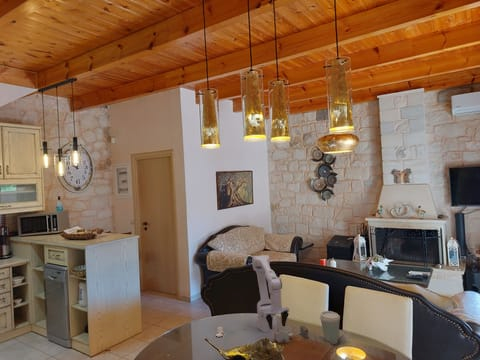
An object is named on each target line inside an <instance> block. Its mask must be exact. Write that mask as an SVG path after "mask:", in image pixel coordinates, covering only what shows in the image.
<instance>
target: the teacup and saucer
mask: <svg viewBox="0 0 480 360" xmlns="http://www.w3.org/2000/svg"><path fill="white" fill-rule="evenodd" d="M223 329H224V328H223V326H218V327H217V332H218V333H216V336H217V338H221V336H223V333H224V332H223V331H224V330H223ZM216 336H215V337H216Z"/></svg>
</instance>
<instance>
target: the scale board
mask: <svg viewBox="0 0 480 360" xmlns="http://www.w3.org/2000/svg"><path fill="white" fill-rule="evenodd" d="M299 330H300V331H299V332H300V333H298V334H293V336H290V337H295V336H301V337H302V338H298V339H292V340H290V339H289V341H286V342H279V343H278V344H285V343H289V342H295V341H296V342H297V341H301V340H307V339H309V329H308V328H307V327H306V326H304V325H300V326H299ZM290 337H289V338H290ZM274 339H275V340H276V337H274Z"/></svg>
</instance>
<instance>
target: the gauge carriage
mask: <svg viewBox="0 0 480 360" xmlns="http://www.w3.org/2000/svg"><path fill="white" fill-rule="evenodd" d="M274 333H275V335H274V336H275V338H276V339H275V341H276V342H278V344H280V343H279V342H285V343H287V342H286V341H290V336H291V337H294V336H293V335H294V334H293V332H291V333H289V332H288V331H287V330H278V331H275V332H274Z"/></svg>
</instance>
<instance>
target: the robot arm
mask: <svg viewBox="0 0 480 360" xmlns="http://www.w3.org/2000/svg"><path fill="white" fill-rule="evenodd" d="M270 263H271V258H270V256H269V255H268V254H265V255H264V254H263V255H253V256H252V258H251V264H252V269H253V271H254V272H255V273H256V276H257V283H258V288H259V289H258V290H259V296H260V300H259V301H258V302H257V304H256V312H257V317H256V329H257V330H260V331H262V332H263V333H271V332H273V331H274V317H275V315H279V314H280V317H281V326H282V327H286V322H287V319H288V317H289V315H290V313H289V312H290V308H289V307H288V306H286V307H283V306H282V289H283V282H282V279H281V278H280V277H278V276H277V274H276V273H275V271H274V270H273V269H272V268H271V266H270ZM269 296H270V297H269Z"/></svg>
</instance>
